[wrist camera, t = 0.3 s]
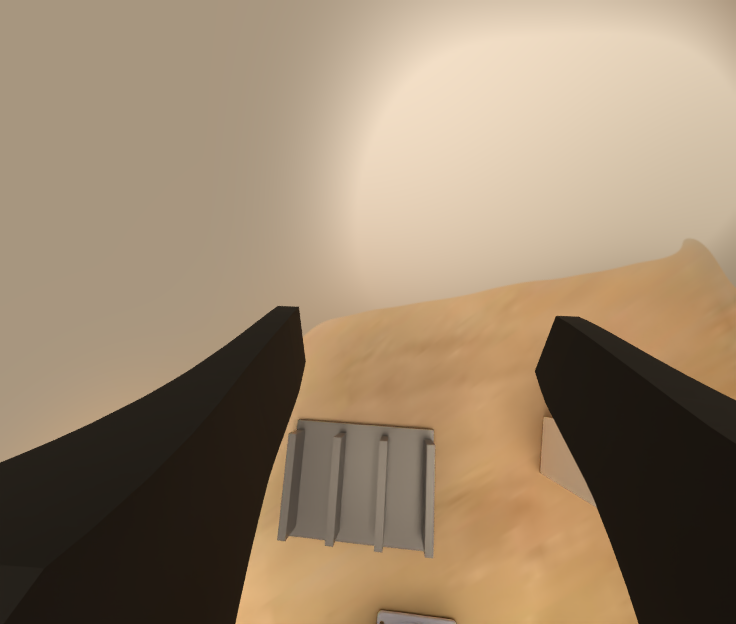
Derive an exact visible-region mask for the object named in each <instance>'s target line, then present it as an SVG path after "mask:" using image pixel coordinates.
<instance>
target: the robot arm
mask: <svg viewBox="0 0 736 624" xmlns="http://www.w3.org/2000/svg"><path fill="white" fill-rule="evenodd" d="M305 362H306V361H305V353H304V345H303V337H302V329H301V321H300V313H299V307H288V306H277V307H276V308H275V309H273V310H272V311H270V312H269V313H268V314H266V315H265V316H264V317H262V318H261V319H260V320H258V321H257V322H256V323H255V324H253V325H252V326H251V327H250V328H248V329H247V330H245V331H244V332H243V333H242V334H241V335H239V336H238V337H236V338H235V339H234V340H232V341H231V342H230V343H228V344H227V345H226V346H224V347H223V348H221V349H220V350H218V351H217V352H215V353H214V354H213V355H211V356H210V357H208V358H207V359H205V360H204V361H202V362H201V363H199V364H198V365H196V366H195V367H193V368H192V369H190V370H189V371H187V372H186V373H184V374H182V375H181V376H179V377H177V378H176V379H174V380H173V381H171V382H169V383H167V384H166V385H164V386H162V387H160V388H159V389H157V390H155V391H153V392H152V393H150V394H148V395H146V396H144V397H143V398H141V399H139V400H137V401H135V402H133V403H131V404H129V405H127V406H125V407H123V408H121V409H119V410H117V411H115V412H113V413H111V414H109V415H107V416H105V417H103V418H101V419H99V420H97V421H95V422H93V423H91V424H89V425H87V426H84V427H83V428H80V429H78V430H76V431H73V432H71V433H69V434H67V435H64V436H62V437H60V438H58V439H56V440H53V441H51V442H49V443H46V444H44V445H42V446H39V447H37V448H34V449H32V450H30V451H27V452H25V453H23V454H20V455H18V456H15V457H13V458H11V459H8V460H5V461H3V462H1V463H0V624H235V623H236V618H237V613H238V608H239V604H240V599H241V594H242V590H243V585H244V581H245V576H246V571H247V567H248V562H249V558H250V554H251V549H252V545H253V541H254V537H255V532H256V528H257V524H258V520H259V516H260V512H261V508H262V504H263V500H264V496H265V492H266V488H267V484H268V480H269V477H270V474H271V470H272V467H273V464H274V461H275V458H276V455H277V453H278V450H279V447H280V444H281V441H282V439H283V436H284V433H285V430H286V428H287V425H288V422H289V419H290V416H291V414H292V411H293V408H294V405H295V402H296V399H297V396H298V393H299V390H300V386H301V381H302V377H303V372H304V367H305ZM535 373H536V376H537V379H538V383H539V386H540V389H541V392H542V394H543V397H544V400H545V403H546V405H547V407H548V409H549V411H550V413H551V415H552V417H553V419H554V421H555V423H556V425H557V427H558V429H559V431H560V433H561V435H562V437H563V439H564V441H565V443H566V445H567V447H568V448H569V450H570V452H571V454H572V456H573V458H574V460H575V462H576V464H577V466H578V468H579V470H580V472H581V474H582V476H583V478H584V480H585V482H586V484H587V486H588V488H589V490H590V492H591V495H592V497H593V499H594V501H595V504H596V506H597V509H598V512H599V514H600V517H601V519H602V522H603V524H604V527H605V529H606V532H607V534H608V537H609V539H610V542H611V545H612V548H613V550H614V553H615V556H616V559H617V561H618V564H619V567H620V570H621V573H622V575H623V578H624V581H625V584H626V586H627V589H628V592H629V595H630V599H631V602H632V605H633V608H634V611H635V614H636V617H637V620H638V623H639V624H736V400H734V399H732V398H730V397H728V396H726V395H724V394H722V393H720V392H718V391H716V390H714V389H712V388H710V387H708V386H706V385H704V384H702V383H700V382H699V381H697V380H695V379H693V378H691V377H689V376H687V375H685V374H683V373H681V372H680V371H678V370H676V369H674V368H672V367H670V366H669V365H667V364H665V363H663V362H661V361H660V360H658V359H656V358H654V357H652V356H651V355H649V354H647V353H645V352H644V351H642V350H640V349H638V348H637V347H635V346H633V345H631V344H629V343H628V342H626V341H624V340H622V339H621V338H619V337H617V336H615V335H614V334H612V333H610V332H608V331H606V330H604V329H603V328H601V327H599V326H597V325H595V324H593V323H591V322H589V321H587V320H585V319H583V318H580V317H571V316H556V317H555V320H554V323H553V325H552V328H551V330H550V333H549V336H548V338H547V341H546V343H545V346H544V349H543V351H542V354H541V357H540V359H539V362H538V364H537V367H536V370H535ZM380 621H383V622H384V624H457V623H456V622H455V621H454V620H452V619H445V618H437V617H430V616H422V615H415V614H408V613H400V612H393V611H385V610H380V611H379V612H378V615H377V624H380Z"/></svg>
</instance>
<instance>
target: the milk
mask: <svg viewBox="0 0 736 624" xmlns="http://www.w3.org/2000/svg"><path fill="white" fill-rule="evenodd" d="M540 473H541V474H543V475H544V476H546V477H548V478H549V479H551V480H552V481H554V482H556V483H557V484H559V485H561V486H562V487H564V488H565V489H567V490H569V491H570V492H572V493H574V494H575V495H577V496H579V497H580V498H582V499H583V500H585V501H587V502H588V503H590V504H592V505H593V506H595V507H596V508H597V506H596V504H595V501H594V499H593V497H592V495H591V492H590V490H589V488H588V486H587V484H586V482H585V480H584V478H583V476H582V474H581V472H580V470H579V468H578V466H577V464H576V462H575V460H574V458H573V456H572V454H571V452H570V450H569V448H568V447H567V445H566V443H565V441H564V439H563V437H562V435H561V433H560V431H559V429H558V427H557V425H556V423H555V421H554V419H553V418H549V417H544V418H543V433H542V449H541V466H540Z"/></svg>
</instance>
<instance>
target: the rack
mask: <svg viewBox="0 0 736 624" xmlns="http://www.w3.org/2000/svg"><path fill="white" fill-rule="evenodd" d="M434 487H435V444H434V430H433V429H420V428H407V427H394V426H380V425H367V424H354V423H341V422H328V421H315V420H302V419H299V420H298V424H297V430H296V431H293V432H291V433H289V436H288V445H287V455H286V464H285V473H284V482H283V492H282V501H281V510H280V519H279V529H278V538H277V540H280V541H286V539H287V538H288V536H294V537H303V538H312V539H320V540H325V546H331V547H333V545H334V543H335V541H338V542H347V543H355V544H364V545H373V546H374V551H375V552H382V551H383V547H391V548H399V549H408V550H417V551H424V556H425V557H426V558H433V547H434Z"/></svg>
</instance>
